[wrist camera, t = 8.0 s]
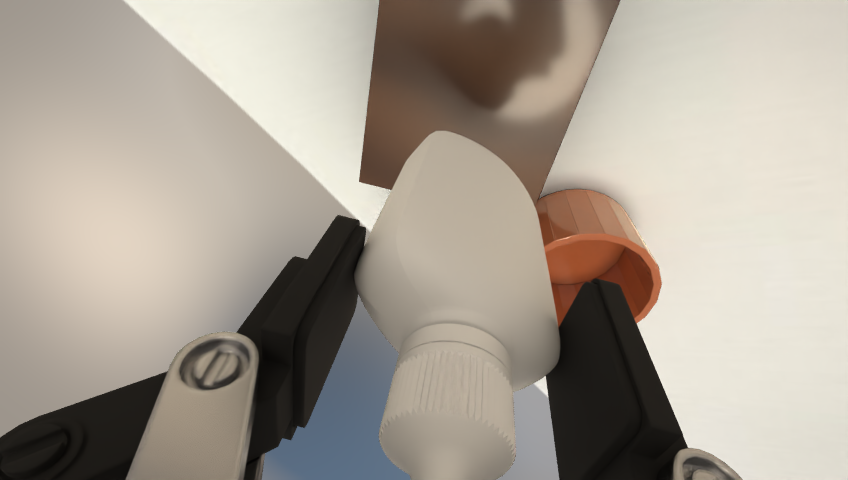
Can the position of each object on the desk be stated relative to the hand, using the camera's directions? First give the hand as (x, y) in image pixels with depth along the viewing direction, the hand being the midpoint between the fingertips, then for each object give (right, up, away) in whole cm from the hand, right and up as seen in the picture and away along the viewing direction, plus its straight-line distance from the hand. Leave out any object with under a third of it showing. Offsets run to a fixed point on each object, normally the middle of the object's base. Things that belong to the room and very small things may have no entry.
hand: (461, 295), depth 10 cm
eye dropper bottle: (+1, +4, +6) cm, 7 cm away
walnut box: (+2, +12, +17) cm, 21 cm away
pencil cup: (+11, +1, +22) cm, 25 cm away
